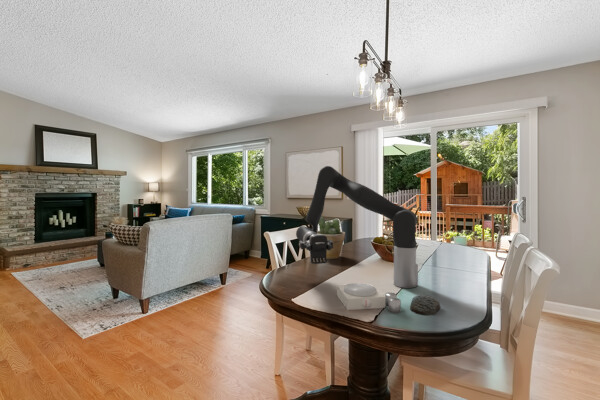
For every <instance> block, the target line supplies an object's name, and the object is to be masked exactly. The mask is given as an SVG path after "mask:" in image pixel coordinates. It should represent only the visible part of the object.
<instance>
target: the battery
mask: <svg viewBox="0 0 600 400" xmlns="http://www.w3.org/2000/svg"><path fill="white" fill-rule="evenodd" d="M310 245H311V251H309V263H310V264H313V265H320V264H327V263H328V262H327V261H328V259H327V258H326V253H327V248H328V240H327V237H326V236H325V235H323V234H315V235H311V236H310Z"/></svg>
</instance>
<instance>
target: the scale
mask: <svg viewBox="0 0 600 400" xmlns="http://www.w3.org/2000/svg"><path fill="white" fill-rule="evenodd" d="M336 297H338V299H339V301H341V303H342V304H343V306H344V307H345V308H346V310H347V311H353V310H354V311H355V310H357V311H358V310H369V309H371V310H372V309H385V308H386V305H385V294H383V293H382V292H381V291H380V290H378V289H377V288H376V287H375V285H374V286H373V285H372V284H371V283H363V282H351V283H347V284H343V285H341V284H339V285H336Z"/></svg>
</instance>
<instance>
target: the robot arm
mask: <svg viewBox="0 0 600 400" xmlns="http://www.w3.org/2000/svg"><path fill="white" fill-rule="evenodd" d="M329 188H331V189H334V190H336V191H338V192H341V193H342V194H343V195H345V196H346V197H347V198H348V199H349V200H350V201H352V202H354V203H355V204H357V205H359V206H360V207H362V208H364V209H366V210H368V211H371V212H373V213H376V214H379V215H382V216H384V217H385V218H387V219H389V220H390V221H391V222H392V240H393V285H394V286H397V287H399V288H405V289H411V288H416V287H418V286H419V283H418V282H419V280H418V279H419V265H418V264H417V241H416V239H417V238H416V226H417V224H418V217H417V214H416V213H415V212H413V211H412V210H411V209H410V210H409V209H407V208H405V207H402V206H400V205H398V204H396V203H394V202H392V201H390V200H389V199H387V198H386V197H385V196H383V195H381V194H379V193H378V192H376V191H375V190H373V189H371V188H369V187H368V186H367V185H364V184H361V183H358V182H356V181H353V180H351V179H349V178H347V177H345V176H344V175H343V174H341V173H340V172H338V170H336V169H335V168H334V167H332V166H329V165H325V166H323V167H322V168H321V169H320V170H319V172H318V174H317V180H316V185H315V189H314V193H313V196H312V199H311V203H310V206H309V208H308V210H307V211H308V212H307V213H306V216H305V221H306V222H307V224H309V225H311V228H310V227H307V226H303V225H302V226H299V227H298V228H297V229H296V233H295V236H296V238H297V240H298V246H299V248H300V249H301V250H304V249H305V250H307V251H308V252H310V251H311V245H310V236H311V235H315V234H317V231H319V230H318V228H319V221H320V218H321V217H322V215H323V212H324V208H325V201H326V196H327V193H328V190H329ZM332 248H333V242H332V241H331V240H328V248H327V250H330V249H332Z"/></svg>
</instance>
